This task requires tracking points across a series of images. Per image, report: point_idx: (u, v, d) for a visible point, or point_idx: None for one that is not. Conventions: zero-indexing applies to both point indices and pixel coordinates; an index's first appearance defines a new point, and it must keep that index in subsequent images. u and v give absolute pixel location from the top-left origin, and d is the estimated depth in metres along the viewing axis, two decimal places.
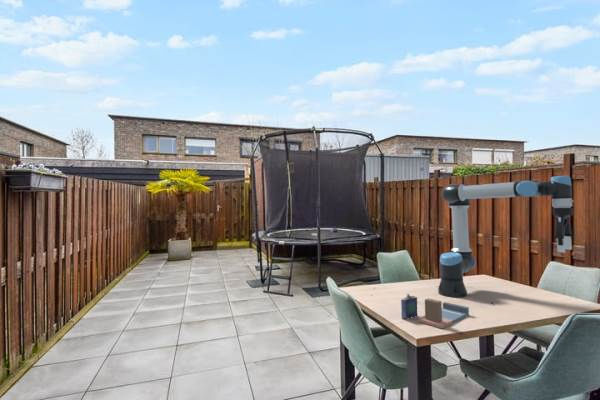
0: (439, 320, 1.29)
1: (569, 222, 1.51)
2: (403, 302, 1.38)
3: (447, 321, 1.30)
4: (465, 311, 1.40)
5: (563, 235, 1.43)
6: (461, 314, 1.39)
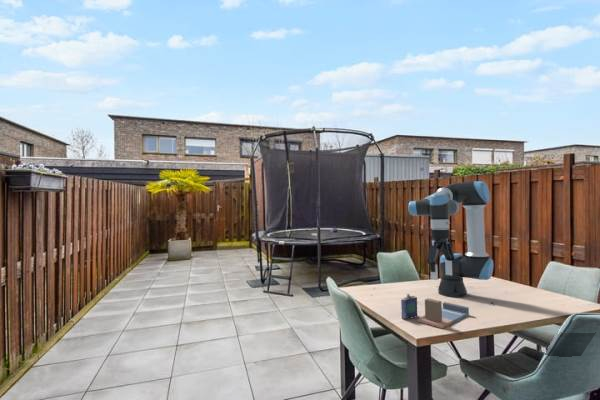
0: (439, 320, 1.29)
1: (450, 245, 1.37)
2: (403, 302, 1.38)
3: (447, 321, 1.30)
4: (465, 311, 1.40)
5: (435, 261, 1.28)
6: (461, 314, 1.39)
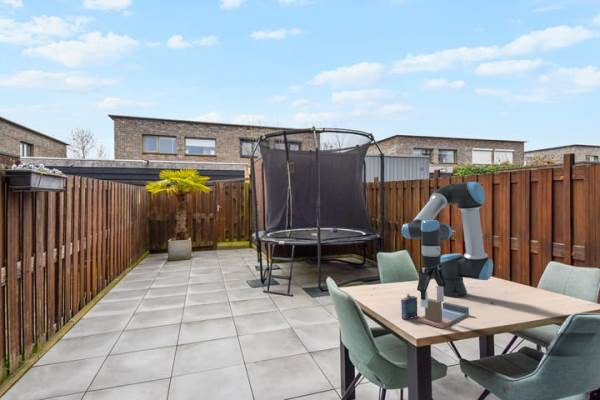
0: (439, 320, 1.29)
1: (441, 271, 1.36)
2: (403, 302, 1.38)
3: (447, 321, 1.30)
4: (465, 311, 1.40)
5: (425, 288, 1.27)
6: (461, 314, 1.39)
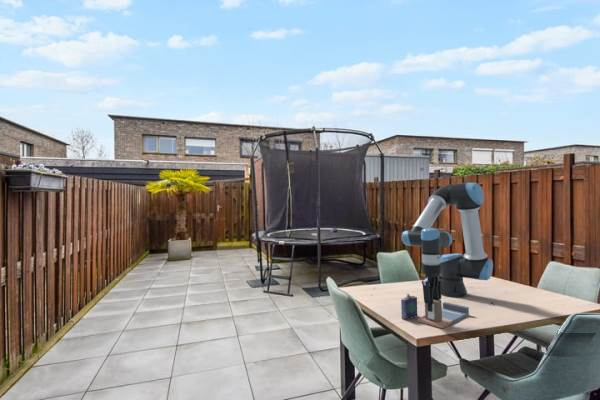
0: (439, 320, 1.29)
1: (440, 283, 1.35)
2: (403, 302, 1.38)
3: (447, 321, 1.30)
4: (465, 311, 1.40)
5: (432, 300, 1.30)
6: (461, 314, 1.39)
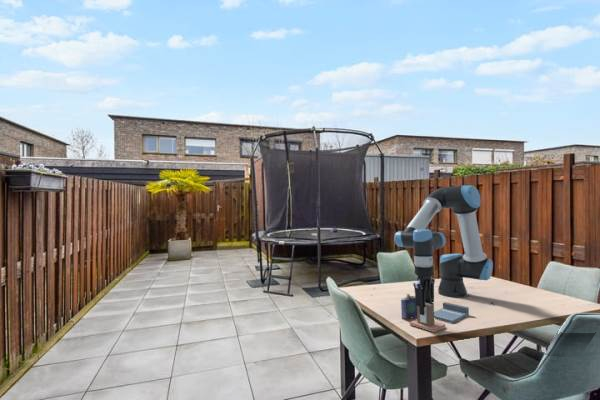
0: (431, 323, 1.25)
1: (433, 285, 1.31)
2: (403, 302, 1.38)
3: (440, 325, 1.26)
4: (465, 311, 1.40)
5: (424, 304, 1.26)
6: (461, 314, 1.39)
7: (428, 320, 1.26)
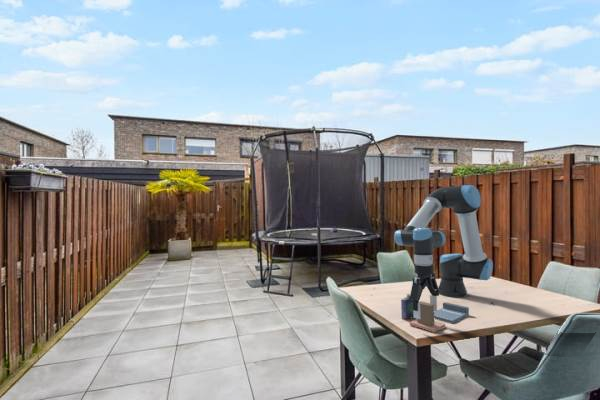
0: (431, 323, 1.25)
1: (434, 280, 1.32)
2: (403, 302, 1.38)
3: (440, 325, 1.26)
4: (465, 311, 1.40)
5: (418, 299, 1.23)
6: (461, 314, 1.39)
7: (428, 320, 1.26)
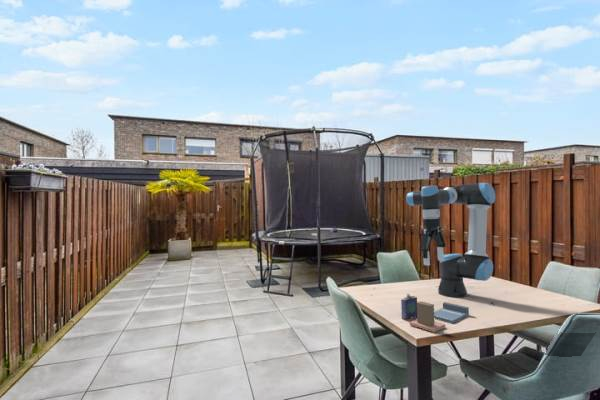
0: (431, 323, 1.25)
1: (441, 233, 1.47)
2: (403, 302, 1.38)
3: (440, 325, 1.26)
4: (465, 311, 1.40)
5: (427, 248, 1.38)
6: (461, 314, 1.39)
7: (428, 320, 1.26)
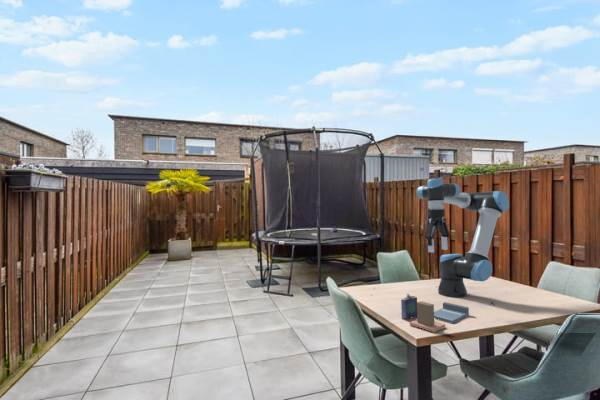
0: (431, 323, 1.25)
1: (445, 223, 1.57)
2: (403, 302, 1.38)
3: (440, 325, 1.26)
4: (465, 311, 1.40)
5: (432, 236, 1.48)
6: (461, 314, 1.39)
7: (428, 320, 1.26)
